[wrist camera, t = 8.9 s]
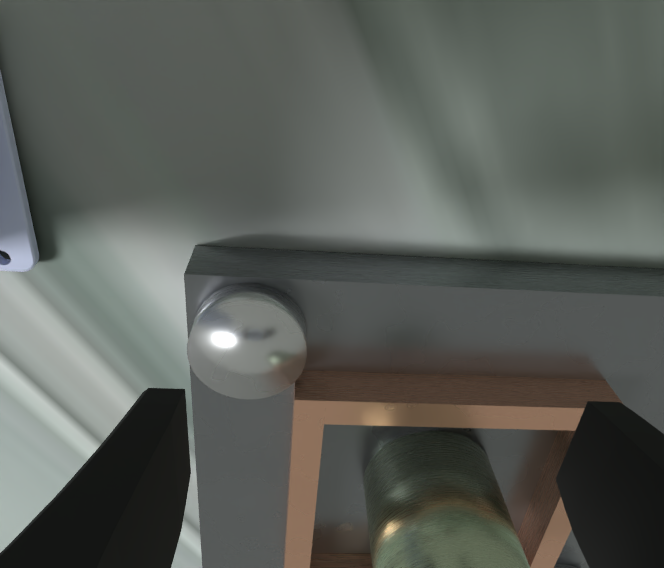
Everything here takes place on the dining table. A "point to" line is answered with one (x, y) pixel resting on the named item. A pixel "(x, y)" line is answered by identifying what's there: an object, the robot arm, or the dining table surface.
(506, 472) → the grey square slab
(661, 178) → the dining table surface
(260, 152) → the dining table surface
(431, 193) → the dining table surface
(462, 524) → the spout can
